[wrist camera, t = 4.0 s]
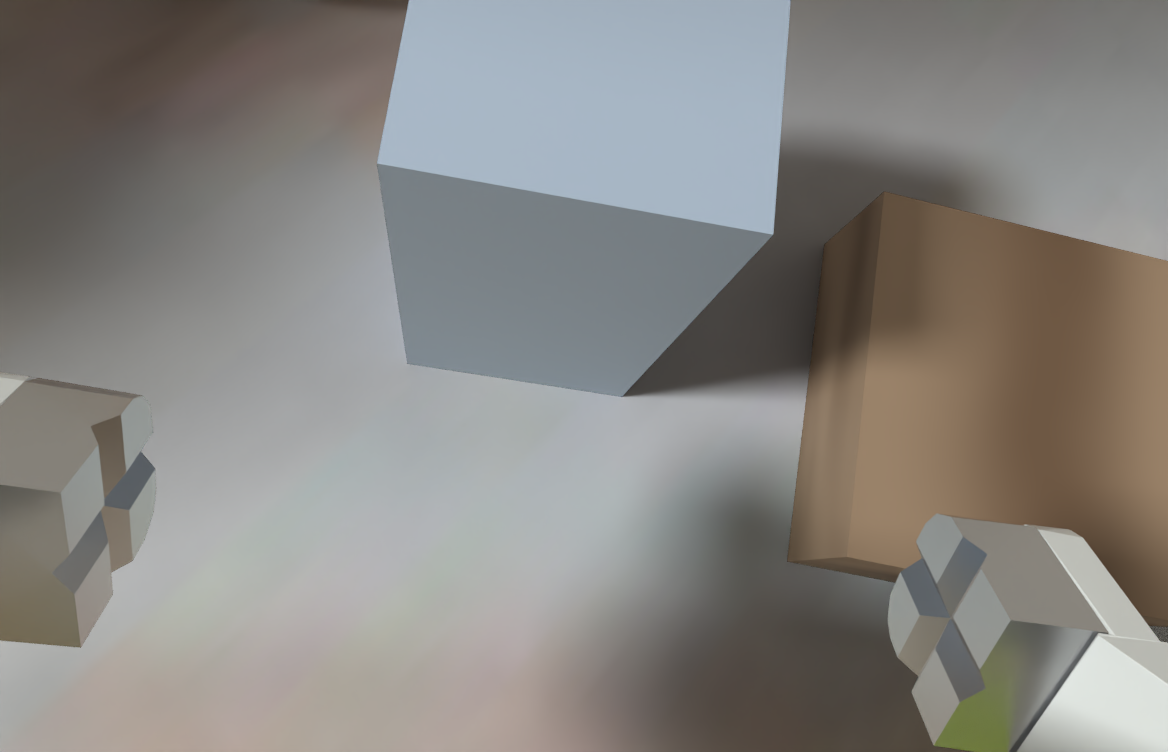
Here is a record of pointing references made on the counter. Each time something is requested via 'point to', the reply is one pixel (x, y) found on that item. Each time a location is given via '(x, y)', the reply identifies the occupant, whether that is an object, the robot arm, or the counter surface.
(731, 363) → the counter surface
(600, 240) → the slate-blue painted block
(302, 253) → the counter surface
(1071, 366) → the walnut block
